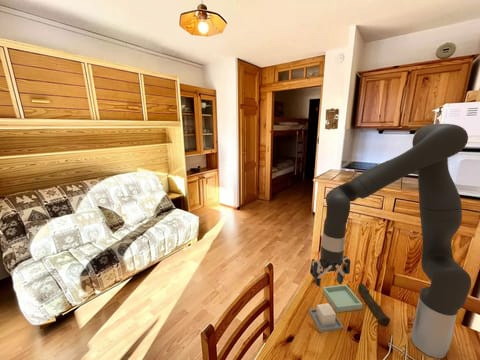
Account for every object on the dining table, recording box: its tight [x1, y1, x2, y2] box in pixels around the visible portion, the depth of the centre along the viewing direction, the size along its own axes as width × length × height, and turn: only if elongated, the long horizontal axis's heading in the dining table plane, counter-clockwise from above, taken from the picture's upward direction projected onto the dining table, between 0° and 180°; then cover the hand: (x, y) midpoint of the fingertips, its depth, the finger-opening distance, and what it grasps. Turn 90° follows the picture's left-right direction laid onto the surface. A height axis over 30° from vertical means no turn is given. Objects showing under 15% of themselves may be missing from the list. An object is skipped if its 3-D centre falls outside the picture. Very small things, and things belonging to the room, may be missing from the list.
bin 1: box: [308, 307, 344, 333], centre depth 82 cm, size 9×9×2 cm
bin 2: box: [322, 284, 364, 313], centre depth 91 cm, size 11×11×3 cm
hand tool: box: [358, 283, 391, 326], centre depth 89 cm, size 19×4×5 cm, turn 176°
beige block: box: [316, 302, 337, 326], centre depth 82 cm, size 5×5×5 cm
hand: (328, 283), depth 78 cm, fingers open, 8 cm apart
